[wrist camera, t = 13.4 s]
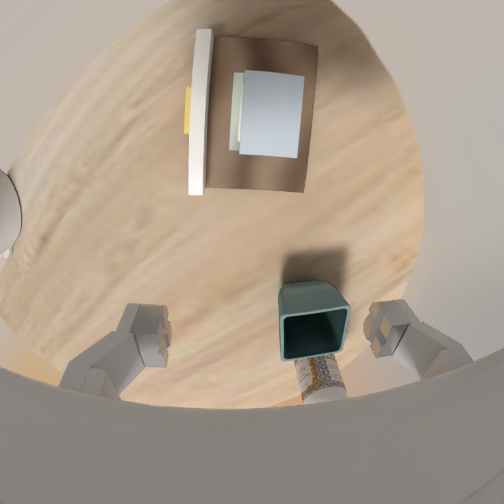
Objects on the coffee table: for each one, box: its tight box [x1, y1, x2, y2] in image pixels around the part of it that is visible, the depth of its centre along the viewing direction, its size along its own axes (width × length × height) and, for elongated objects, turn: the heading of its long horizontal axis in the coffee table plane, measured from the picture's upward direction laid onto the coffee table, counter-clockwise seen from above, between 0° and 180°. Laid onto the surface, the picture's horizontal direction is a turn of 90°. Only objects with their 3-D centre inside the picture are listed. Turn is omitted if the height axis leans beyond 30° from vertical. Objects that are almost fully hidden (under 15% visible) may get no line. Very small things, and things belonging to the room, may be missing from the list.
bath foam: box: [294, 353, 347, 405], centre depth 38 cm, size 7×7×20 cm
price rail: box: [184, 29, 214, 195], centre depth 25 cm, size 2×18×3 cm, turn 177°
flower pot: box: [278, 280, 351, 361], centre depth 37 cm, size 9×9×9 cm
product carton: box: [237, 70, 305, 158], centre depth 24 cm, size 5×8×7 cm
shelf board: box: [206, 37, 318, 193], centre depth 28 cm, size 13×18×2 cm
